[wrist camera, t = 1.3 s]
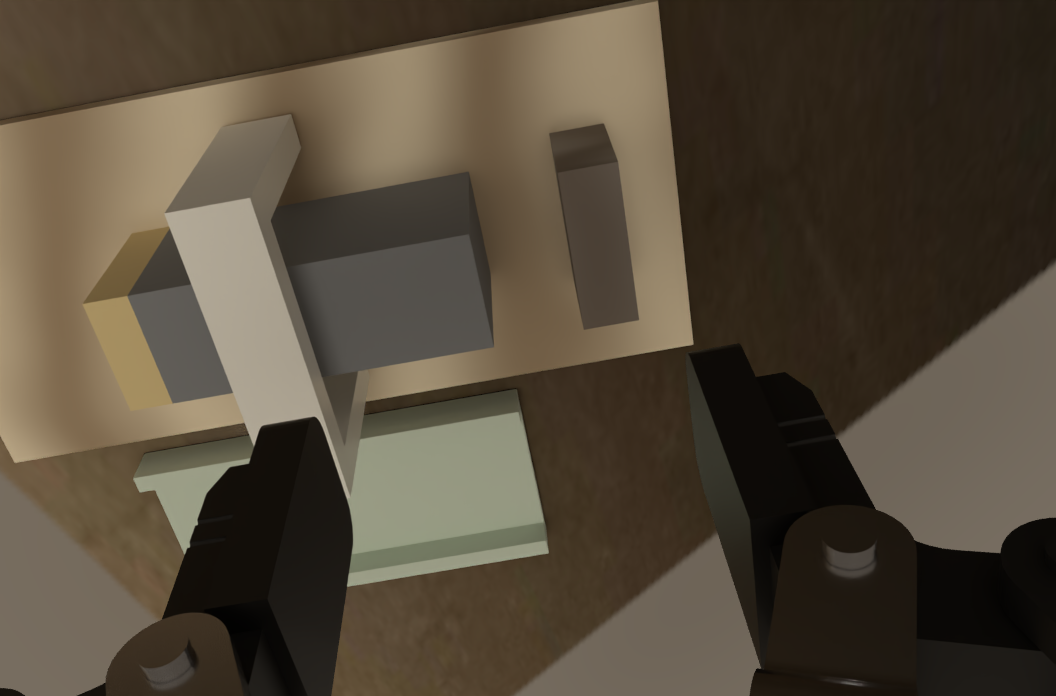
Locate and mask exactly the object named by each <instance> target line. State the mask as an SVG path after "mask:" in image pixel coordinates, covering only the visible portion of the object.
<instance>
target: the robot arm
mask: <svg viewBox="0 0 1056 696" xmlns="http://www.w3.org/2000/svg"><path fill="white" fill-rule="evenodd" d="M686 371H687V380H688V389H689V398H690V408H691V417H692V426H693V435H694V444H695V451H696V457H697V463H698V468H699V472H700V477H701V481H702V485H703V488H704V492H705V495H706V498H707V501H708V504H709V507H710V510H711V513H712V517H713V520H714V523H715V526H716V529H717V532H718V535H719V538H720V541H721V545H722V548H723V551H724V554H725V557H726V560H727V563H728V566H729V569H730V573H731V576H732V579H733V582H734V585H735V588H736V591H737V594H738V598H739V600H740V603H741V607H742V610H743V613H744V616H745V619H746V622H747V626H748V629H749V632H750V635H751V638H752V641H753V644H754V647H755V650H756V654H757V656H758V660H759V663H760V666H761V669H756V671H755V673H754V676H753V680H752V684H751V689H750V696H1056V518H1046V519H1039V520H1035V521H1031V522H1028V523H1026V524H1024V525H1021V526H1019V527H1018V528H1016V529H1015V530H1013V531H1012V532H1011V533H1010V534H1009V535H1008V536H1007V537H1006V539H1005V540H1004V542H1003V544H1002V548H1001V553H989V552H975V551H961V550H951V549H942V548H938V547H933V546H929V545H926V544H923V543H920V542H917V541H915V540H914V538H913V536H912V535H911V533H910V532H909V531H908V529H906V527H905V526H904V525H903V524H902V523H900V522H899V521H897V520H896V519H895V518H893V517H891V516H889V515H888V514H886V513H884V512H881V511H878V510H876V509H875V507H874V505H873V503H872V501H871V500H870V498H869V496H868V494H867V492H866V490H865V489H864V487H863V485H862V483H861V481H860V479H859V477H858V475H857V474H856V472H855V470H854V468H853V466H852V464H851V463H850V461H849V459H848V457H847V455H846V453H845V451H844V450H843V448H842V446H841V444H840V442H839V440H838V439H836V437H835V433H834V431H833V429H832V427H831V425H830V424H829V422H828V420H827V419H825V414H824V413H823V411H822V409H821V407H820V405H819V403H818V401H817V400H816V398H815V396H814V394H813V392H812V390H810V389H809V388H807V387H806V386H804V385H803V384H801V383H800V382H798V381H797V380H796V379H794V378H793V377H791V376H790V375H788V374H787V373H785V372H783V373H777V374H772V375H766V376H760V377H755V374H754V372H753V370H752V368H751V366H750V364H749V361H748V359H747V357H746V355H745V353H744V351H743V349H742V347H741V345H740V344H739V343H738V344H733V345H727V346H721V347H715V348H710V349H704V350H698V351H692V352H687V353H686ZM197 521H198V525H195V528H194V530H193V533H192V536H191V539H190V542H189V543H190V547H189V548H187V550H186V553H185V556H184V559H183V561H182V564H181V567H180V570H179V573H178V576H177V578H176V581H175V584H174V587H173V590H172V592H171V595H170V598H169V601H168V604H167V607H166V609H165V612H164V615H163V618H162V620H160V621H158V622H156V623H154V624H152V625H150V626H148V627H147V628H145V629H143V630H142V631H140V632H139V633H138V634H136V635H135V636H134V637H132V638H131V639H130V640H129V641H128V642H127V643H126V644H125V645H124V646H123V647H122V648H121V649H120V651H119V652H118V653H117V654H116V656H115V657H114V659H113V660H112V662H111V664H110V666H109V668H108V671H107V675H106V683H104V684H103V685H100V686H98V687H96V688H94V689H92V690H89V691H87V692H85V693H82V694H80V695H78V696H331V693H332V686H333V679H334V672H335V666H336V659H337V652H338V645H339V638H340V631H341V624H342V617H343V611H344V604H345V597H346V590H347V583H348V576H349V569H350V563H351V556H352V549H353V526H352V519H351V513H350V508H349V504H348V501H347V498H346V495H345V492H344V489H343V486H342V483H341V480H340V477H339V474H338V471H337V468H336V465H335V462H334V459H333V456H332V453H331V450H330V447H329V445H328V442H327V439H326V436H325V433H324V430H323V427H322V425H321V423H320V421H319V420H318V419H317V418H316V417H308V418H302V419H296V420H291V421H285V422H279V423H273V424H268V425H263V426H261V428H260V430H259V432H258V435H257V439H256V442H255V445H254V448H253V452H252V455H251V458H250V461H249V464H244V465H238V466H232V467H229V468H228V469H227V471H226V472H225V473H224V474H223V475H222V476H221V477H220V479H219V480H218V481H217V482H216V483H215V484H214V485H213V487H212V488H211V489H210V490H209V491H208V492H207V494H206V496H205V499H204V502H203V505H202V508H201V511H200V513H199V516H198V519H197ZM0 696H25V695H23V694H22V693H20V692H18V691H16V690H13V689H6V688H0Z"/></svg>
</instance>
